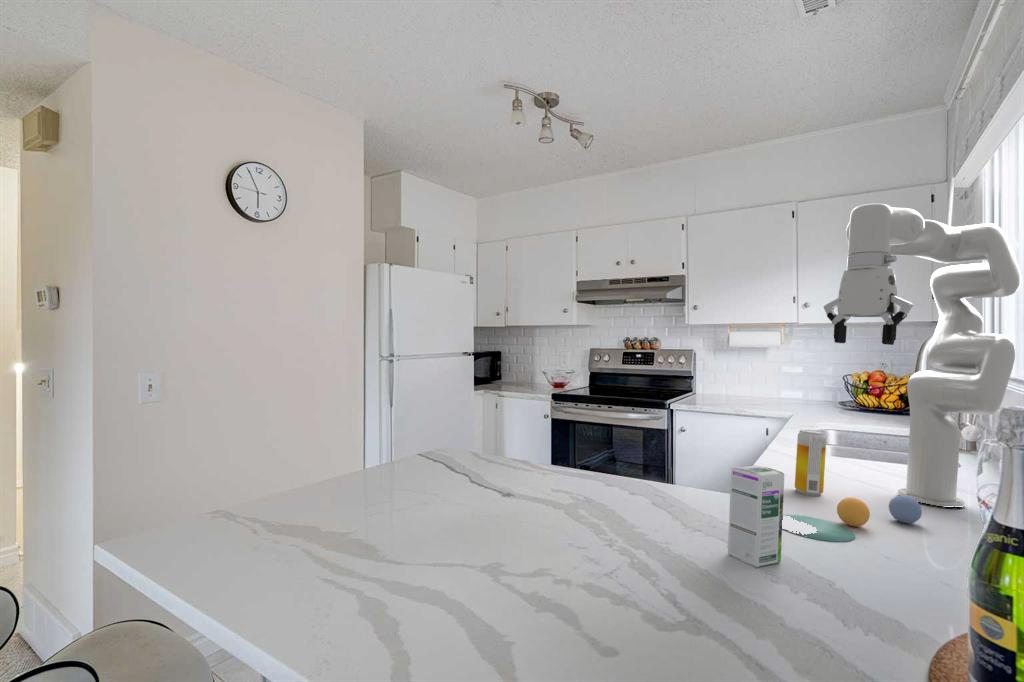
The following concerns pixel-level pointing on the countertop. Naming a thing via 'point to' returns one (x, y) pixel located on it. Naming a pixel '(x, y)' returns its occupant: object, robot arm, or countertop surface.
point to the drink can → (810, 462)
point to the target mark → (826, 529)
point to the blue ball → (905, 509)
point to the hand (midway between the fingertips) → (863, 343)
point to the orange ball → (853, 511)
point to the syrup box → (756, 515)
